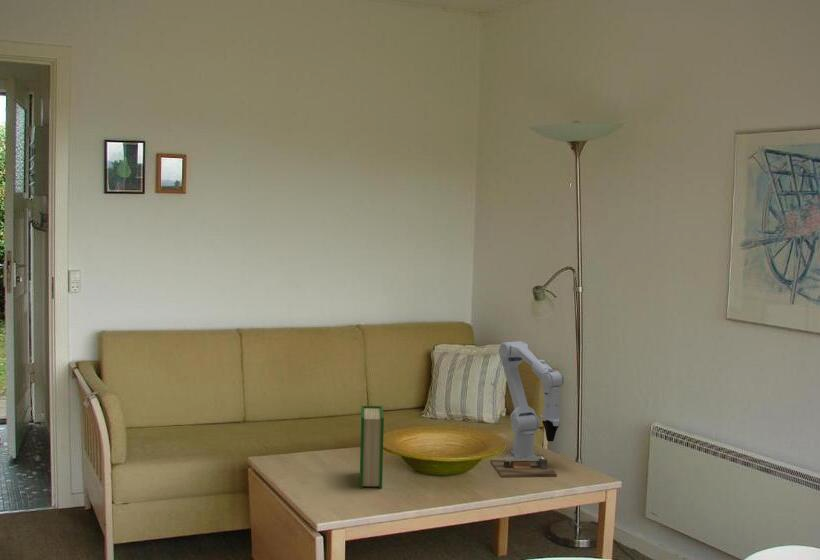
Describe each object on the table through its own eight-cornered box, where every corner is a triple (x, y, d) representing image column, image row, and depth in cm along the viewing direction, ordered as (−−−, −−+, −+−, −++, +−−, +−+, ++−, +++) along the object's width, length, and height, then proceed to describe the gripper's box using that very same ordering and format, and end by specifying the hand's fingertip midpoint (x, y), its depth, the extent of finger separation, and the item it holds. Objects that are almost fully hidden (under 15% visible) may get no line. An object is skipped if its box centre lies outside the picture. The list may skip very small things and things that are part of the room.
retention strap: (502, 459, 325) (502, 455, 325) (542, 458, 327) (542, 455, 327) (505, 462, 321) (505, 458, 321) (544, 461, 323) (545, 458, 323)
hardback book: (382, 488, 298) (383, 417, 296) (359, 488, 298) (361, 417, 296) (380, 473, 316) (382, 405, 314) (359, 472, 315) (361, 405, 313)
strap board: (490, 462, 332) (490, 450, 332) (542, 462, 334) (543, 450, 334) (501, 477, 314) (501, 464, 314) (556, 476, 317) (557, 464, 316)
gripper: (535, 400, 334) (534, 435, 336) (546, 408, 320) (544, 446, 321) (554, 400, 335) (552, 435, 336) (565, 408, 321) (564, 446, 322)
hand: (550, 440), depth 329 cm, fingers closed
